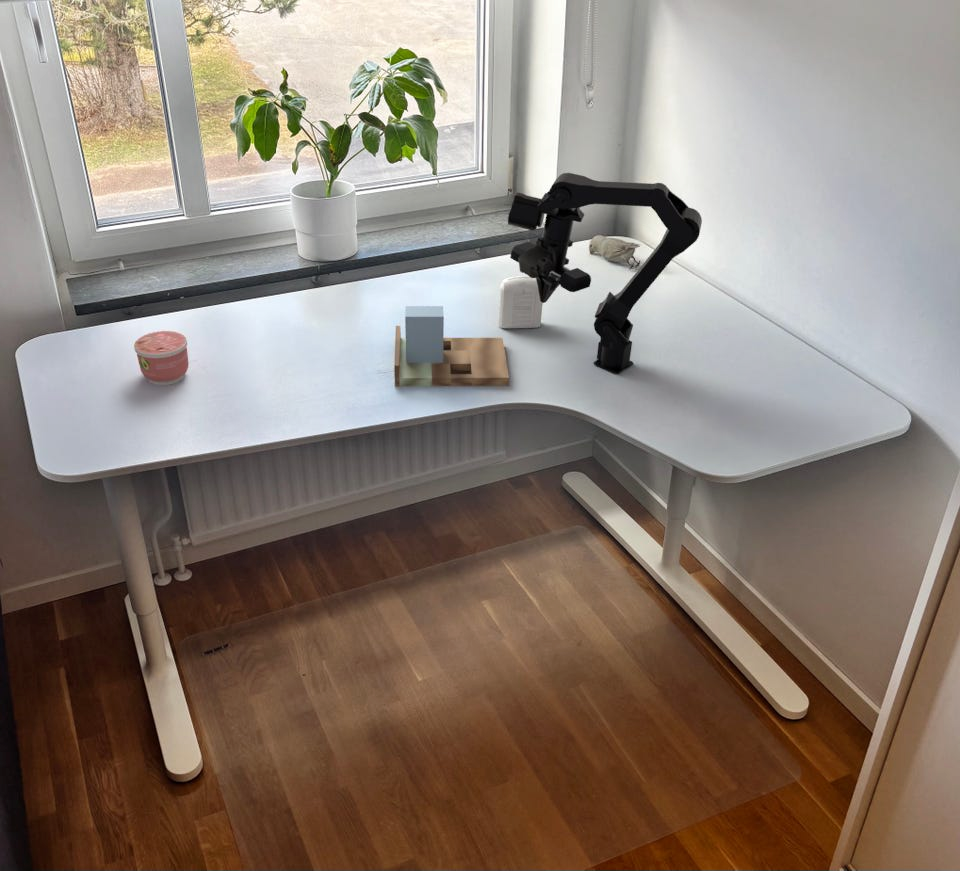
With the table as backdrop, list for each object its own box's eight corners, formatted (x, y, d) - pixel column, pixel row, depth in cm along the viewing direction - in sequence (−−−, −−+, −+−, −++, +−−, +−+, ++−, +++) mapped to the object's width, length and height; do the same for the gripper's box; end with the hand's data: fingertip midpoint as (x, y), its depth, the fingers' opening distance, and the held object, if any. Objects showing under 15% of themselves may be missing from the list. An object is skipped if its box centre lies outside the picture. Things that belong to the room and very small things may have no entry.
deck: (502, 345, 216) (503, 325, 213) (508, 385, 201) (509, 365, 199) (396, 345, 215) (395, 325, 212) (394, 386, 200) (394, 365, 197)
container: (138, 367, 203) (132, 334, 199) (189, 360, 206) (183, 327, 202) (142, 392, 195) (135, 357, 191) (194, 384, 198) (189, 350, 194)
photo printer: (539, 320, 227) (542, 272, 221) (542, 328, 224) (546, 280, 217) (496, 322, 226) (498, 273, 219) (499, 330, 223) (501, 281, 216)
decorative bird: (595, 250, 265) (598, 225, 260) (642, 268, 255) (646, 242, 251) (583, 256, 261) (586, 230, 257) (630, 274, 252) (634, 247, 248)
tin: (442, 351, 209) (443, 306, 203) (443, 362, 205) (443, 316, 199) (406, 351, 208) (405, 306, 202) (406, 362, 204) (405, 316, 198)
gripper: (498, 225, 198) (487, 292, 207) (563, 261, 188) (549, 330, 197) (534, 216, 205) (522, 281, 214) (599, 250, 195) (584, 317, 204)
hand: (543, 302), depth 207 cm, fingers closed
